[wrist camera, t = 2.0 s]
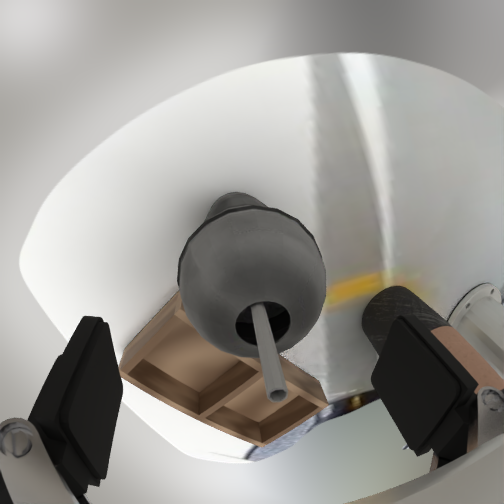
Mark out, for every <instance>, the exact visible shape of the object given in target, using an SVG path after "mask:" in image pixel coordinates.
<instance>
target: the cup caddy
mask: <svg viewBox="0 0 504 504" xmlns="http://www.w3.org/2000/svg"><path fill="white" fill-rule="evenodd" d="M278 356H279V360H280V364H281V367H282V371H283V375H284V378H285V382H286V385H287V389H288V396H287V399H285V400H283V401H282V402H271V401H270V400H269V399H268V398H267V393H266V388H265V382H264V377H263V372H262V366H261V361H260V358H246V357H238V356H235V355H232V354H229V353H226V352H223V351H220V350H219V349H218V348H216V347H215V346H213V345H212V344H210V343H209V342H208V341H206V340H205V339H204V338H202V337H201V336H200V334H199V333H198V332H197V330H196V329H195V328H194V326H193V325H192V324H191V322H190V321H189V319H188V318H187V316H186V313H185V309H184V306H183V303H182V299H181V295H180V291H178V292H177V293H176V294H175V295H174V296H173V297H172V298H171V300H170V301H169V302H168V303H167V304H166V305H165V306H164V307H163V308H162V309H161V310H160V311H159V312H158V313H157V314H156V315H155V317H154V318H153V319H152V320H151V321H150V322H149V323H148V324H147V325H146V326H145V327H144V328H143V329H142V330H141V332H140V333H139V334H138V335H137V336H136V337H135V338H134V339H133V340H132V341H131V342H130V343H129V344H128V346H127V347H126V348H125V350H124V352H123V355H122V358H121V361H120V364H119V367H118V368H119V372H120V376H121V377H122V378H123V379H125V380H126V381H128V382H130V383H131V384H133V385H135V386H136V387H138V388H140V389H141V390H143V391H145V392H146V393H148V394H150V395H151V396H153V397H155V398H157V399H158V400H160V401H162V402H164V403H166V404H168V405H169V406H171V407H173V408H175V409H177V410H179V411H181V412H183V413H185V414H187V415H189V416H191V417H193V418H195V419H197V420H199V421H201V422H203V423H205V424H207V425H209V426H212V427H214V428H216V429H218V430H220V431H223V432H225V433H227V434H230V435H232V436H234V437H237V438H239V439H242V440H244V441H247V442H249V443H252V444H254V445H257V446H260V447H264V446H265V445H267V444H269V443H271V442H272V441H274V440H276V439H277V438H279V437H281V436H282V435H284V434H286V433H287V432H289V431H291V430H292V429H294V428H295V427H297V426H299V425H300V424H302V423H303V422H305V421H306V420H308V419H309V418H311V417H312V416H314V415H315V414H317V413H318V412H320V411H321V410H323V409H324V408H325V407H327V406H328V405H329V404H328V402H327V399H326V397H325V394H324V392H323V389H322V387H321V384H320V382H319V381H318V380H317V379H315V378H313V377H312V376H310V375H309V374H307V373H306V372H304V371H303V370H301V369H300V368H298V367H297V366H295V365H294V364H292V363H291V362H289V361H288V360H286V359H285V358H284V357H282V356H281V355H279V354H278Z"/></svg>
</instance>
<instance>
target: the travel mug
mask: <svg viewBox="0 0 504 504" xmlns="http://www.w3.org/2000/svg"><path fill="white" fill-rule="evenodd" d="M407 314H413V315H415V316H416V317H417V318H418V319H419V320H420V321H421V322H422V323H423V324H424V325H425V326H426V327H427V328H428V329H429V330H430V331H431V332H432V333H433V334H434V335H435V336H436V338H437V339H438V340H439V341H440V342H441V343H442V344H443V345H444V346H445V347H446V348H447V349H448V350H449V351H450V352H451V353H452V355H453V356H454V357H455V358H456V359H457V360H458V361H459V362H460V363H461V364H462V365H463V367H464V368H465V369H466V370H467V371H468V372H469V373H470V374H471V376H472V377H473V378H474V379H475V380H476V381H477V382H478V384H479V385H478V386H477V388H476V389H475V391H474V392H475V394H477V393H478V391H479V390H480V389H481V388H482V387H485V386H491V387H494V388H497V389H498V390H500V391H501V392H502V393H503V394H504V380H503V379H502V378H501V377H500V375H499V374H498V373H497V372H496V371H495V370H494V369H493V368H492V367H491V366H490V365H489V363H488V362H487V361H486V360H485V359H484V358H483V357H482V356H481V355H480V354H479V353H478V352H477V351H476V350H475V349H474V348H473V347H472V346H471V345H470V344H469V342H468V341H467V340H466V339H465V338H464V337H463V336H462V335H461V334H460V333H459V332H458V331H457V330H456V329H454V328H453V327H452V326H451V325H450V324H449V323H448V322H447V321H446V320H444V319H443V318H442V317H441V316H440V315H439V314H437V313H436V312H435V311H434V310H433V309H432V308H430V307H429V306H428V305H427V304H426V303H425V302H423V301H422V300H421V299H420V298H419V297H417V296H416V295H415V294H414V293H412V292H411V291H410V290H408V289H407V288H405V287H401V286H394V287H390V288H387V289H385V290H383V291H382V292H380V293H379V294H377V295H376V296H375V297H374V298H373V299H372V300H371V301H370V303H369V304H368V306H367V307H366V309H365V312H364V314H363V318H362V326H363V330H364V332H365V334H366V335H367V337H368V339H369V340H370V342H371V344H372V345H373V347H374V348H375V350H376V351H377V353H378V355H379V356H380V354H381V351H382V349H383V346H384V344H385V341H386V339H387V336H388V333H389V331H390V328H391V325H392V323H393V321H394V320H396V318H397V317H398V316H399V315H407Z"/></svg>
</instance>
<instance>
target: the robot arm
mask: <svg viewBox="0 0 504 504" xmlns="http://www.w3.org/2000/svg"><path fill="white" fill-rule="evenodd" d="M448 323H449V324H450V325H451V326H452V327H453V328H454V329H456V330H457V331H458V332H459V333H460V334H461V335H462V336H463V337H464V338H465V339H466V340H467V341H468V342H469V344H470V345H471V346H472V347H473V348H474V349H475V350H476V351H477V352H478V353H479V354H480V355H481V356H482V357H483V358H484V359H485V360H486V361H487V362H488V363H489V365H490V366H491V367H492V368H493V369H494V370H495V371H496V372H497V373H498V374H499V375H500V377H501V378H502V379H503V380H504V306H503V305H501V293H500V291H499V289H498V288H497V287H495V286H494V285H492V284H483V285H480V286H478V287H476V288H475V289H473V290H472V291H471V292H470V293H469V294H467V295H466V296H465V298H464V299H463V300H462V301H461V302H460V303H459V305H458V306H457V307H456V309H455V310H454V312H453V313H452V315H451V317H450V318H449V320H448ZM371 382H372V385H373V387H374V388H375V390H376V392H377V393H378V395H379V397H380V398H381V400H382V402H383V403H384V405H385V407H386V408H387V410H388V412H389V414H390V415H391V417H392V419H393V420H394V422H395V423H396V425H397V427H398V429H399V431H400V432H401V434H402V436H403V438H404V439H405V441H406V443H407V445H408V446H409V448H410V449H411V450H414V452H415V454H416V455H417V456H420V455H422V454H425V453H427V452H429V451H430V449H431V448H432V449H433V451H434V453H433V458H432V463H431V468H430V472H429V473H428V474H426V475H423V476H421V477H419V478H416V479H414V480H412V481H409V482H407V483H404V484H402V485H399V486H397V487H394V488H392V489H389V490H386V491H383V492H380V493H377V494H375V495H372V496H368V497H366V498H362V499H359V500H356V501H352V502H349V503H345V504H504V394H503V393H502V392H501V391H500V390H498V389H497V388H494V387H491V386H485V387H482V388H481V389H480V390H479V391H478V393H477V394H475V392H474V391H475V389H476V388H477V386H478V385H479V384H478V382H477V381H476V380H475V379H474V378H473V377H472V376H471V374H470V373H469V372H468V371H467V370H466V369H465V368H464V367H463V365H462V364H461V363H460V362H459V361H458V360H457V359H456V358H455V357H454V356H453V355H452V353H451V352H450V351H449V350H448V349H447V348H446V347H445V346H444V345H443V344H442V343H441V342H440V341H439V340H438V339H437V338H436V336H435V335H434V334H433V333H432V332H431V331H430V330H429V329H428V328H427V327H426V326H425V325H424V324H423V323H422V322H421V321H420V320H419V319H418V318H417V317H416V316H415V315H413V314H407V315H399V316H398V317H397V318H396V320H394V321H393V323H392V325H391V328H390V331H389V333H388V336H387V339H386V341H385V344H384V346H383V349H382V351H381V354H380V356H379V359H378V361H377V364H376V366H375V368H374V371H373V373H372V376H371ZM122 395H123V384H122V380H121V376H120V372H119V368H118V364H117V360H116V356H115V352H114V347H113V343H112V338H111V333H110V328H109V324H108V323H107V322H103V319H102V318H101V317H93V316H83V318H82V319H81V321H80V323H79V324H78V326H77V328H76V330H75V332H74V333H73V335H72V337H71V339H70V341H69V343H68V345H67V347H66V348H65V350H64V352H63V354H62V355H60V356H58V358H57V359H56V361H55V363H54V365H53V367H52V369H51V371H50V373H49V375H48V377H47V379H46V381H45V383H44V385H43V387H42V389H41V391H40V393H39V396H38V398H37V400H36V402H35V404H34V406H33V409H32V411H31V413H30V416H29V418H28V420H25V419H22V418H10V419H7V420H5V421H3V422H2V423H1V424H0V504H92V503H91V502H90V501H89V499H88V497H87V496H86V494H85V493H86V492H87V488H88V485H93V486H98V487H99V486H100V480H101V479H105V478H106V475H107V470H108V464H109V458H110V452H111V447H112V441H113V436H114V431H115V427H116V421H117V417H118V412H119V408H120V404H121V399H122Z"/></svg>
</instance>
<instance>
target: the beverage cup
mask: <svg viewBox="0 0 504 504" xmlns="http://www.w3.org/2000/svg"><path fill="white" fill-rule="evenodd" d="M177 282H178V286H179V291H180V295H181V299H182V303H183V306H184V309H185V313H186V316H187V318H188V319H189V321H190V322H191V324H192V325H193V326H194V328H195V329H196V330H197V332H198V333H199V334H200V336H201V337H202V338H204V339H205V340H206V341H208V342H209V343H210V344H212V345H213V346H215V347H216V348H218V349H219V350H220V351H223V352H226V353H229V354H232V355H235V356H238V357H246V358H260V361H261V366H262V372H263V377H264V382H265V388H266V393H267V398H268V399H269V400H270V401H271V402H282V401H283V400H285V399H287V396H288V389H287V385H286V382H285V378H284V375H283V371H282V367H281V364H280V360H279V356H278V354H279V353H281V352H283V351H285V350H288V349H290V348H292V347H293V346H294V345H295V344H297V343H298V342H299V341H300V340H302V339H303V338H304V337H305V336H306V335H307V334H308V333H309V331H310V330H311V329H312V327H313V326H314V324H315V323H316V322H317V320H318V318H319V316H320V313H321V310H322V307H323V304H324V301H325V297H326V270H325V266H324V263H323V261H322V256H321V253H320V251H319V248H318V246H317V244H316V241H315V239H314V236H313V235H312V234H311V233H310V232H309V231H308V230H307V229H306V227H305V226H304V225H303V224H302V223H301V222H300V221H299V220H298V219H296V218H294V217H292V216H290V215H288V214H286V213H284V212H283V211H281V210H279V209H275V208H269V207H267V206H266V205H264V204H263V203H262V202H260V201H259V200H257V199H256V198H254V197H252V196H250V195H248V194H245V193H240V192H234V193H228V194H226V195H224V196H222V197H220V198H219V199H218V200H217V201H216V202H215V203H214V205H213V206H212V207H211V210H210V212H209V214H208V216H207V218H206V220H205V222H204V223H203V224H202V225H201V226H200V227H199V228H198V229H197V230H196V231H195V232H194V233H193V234H192V235H191V236H190V237H189V238H188V240H187V243H186V245H185V247H184V249H183V251H182V253H181V256H180V258H179V263H178V276H177Z"/></svg>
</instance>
